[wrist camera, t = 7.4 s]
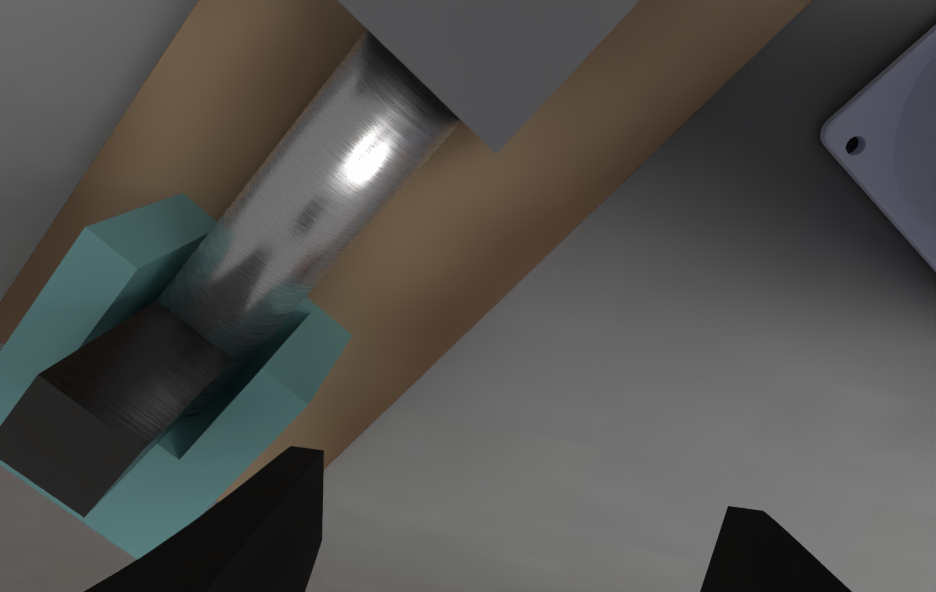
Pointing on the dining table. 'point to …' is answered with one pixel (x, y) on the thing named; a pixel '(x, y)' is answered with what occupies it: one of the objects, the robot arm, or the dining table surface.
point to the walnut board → (424, 196)
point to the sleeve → (491, 51)
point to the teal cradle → (189, 442)
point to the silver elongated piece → (230, 282)
